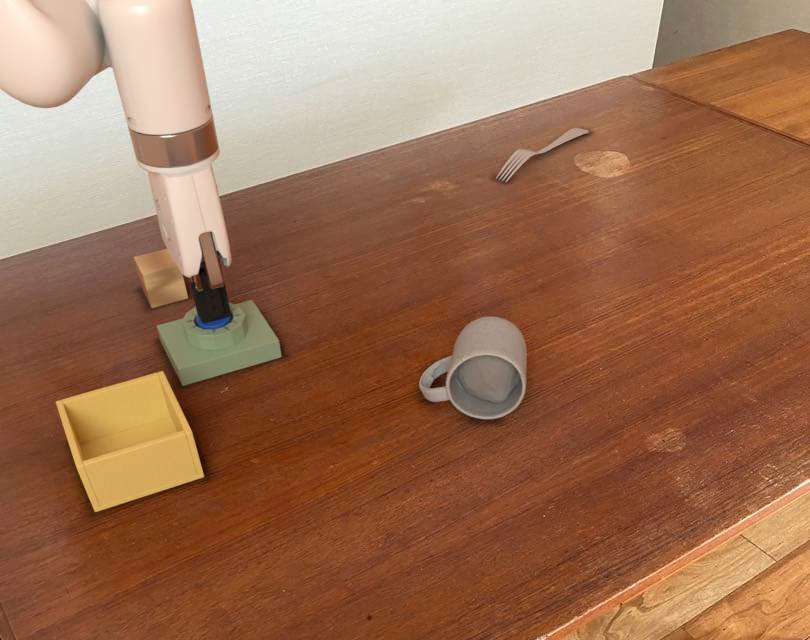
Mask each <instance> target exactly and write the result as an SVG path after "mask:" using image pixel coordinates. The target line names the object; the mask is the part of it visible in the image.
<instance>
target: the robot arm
mask: <svg viewBox="0 0 810 640" xmlns="http://www.w3.org/2000/svg"><path fill="white" fill-rule="evenodd" d="M204 66H205V65H204V62H203V56H202V50H201V45H200V40H199V35H198V30H197V24H196V19H195V14H194V9H193V4H192V0H0V90H1V91H3V92H4V93H5V94H7V96H9V97H11V98H13V99H15V100H17V101H18V102H20V103H22V104H24V105H27V106H31V107H33V108H39V109H51V108H58V107H60V106H63V105H65V104H67V103H69V102H70V101H71V100H72V99H74V98H75V97H76V96H77V95H78V94H79V93H80V92H81V90H83V89H84V87H85V86H86V85H87V84H88V83H89V82H90V80H92V79H93V78H94V77H95V76H97V75H98V74H100V73H101V72H103V71H105V70H107V69H109V68H111V69H112V72H113V75H114V80H115V84H116V88H117V91H118V95H119V98H120V102H121V105H122V109H123V113H124V116H125V121H126V123H127V128H128V132H129V136H130V140H131V144H132V148H133V152H134V155H135V160H136V164H137V165H138V167H140V168H141V169H142V170H145V171H146V172H147V175H148V180H149V184H150V185H149V186H150V189H151V195H152V199H153V204H154V208H155V213H156V216H157V221H158V227H159V232H160V235H161V238H162V241H163V243H164V247H166V248H165V249H168V251H169V253H170V255H171V256H172V258H173V260H174V262H175V263H176V265H177V267H178V268H179V270H180V271H181V273H182V274H183V277H186V278H188V279H190V281H191V282H190V283H189V285H190V289H191V293H192V297H193V302H194V307H196V310H197V314H198V316H199V318H200V319H201V321H202V323H204V324H205V323H209V322H213V321H216V320H220V319H224V318H227V317H230V316H231V311H230V306H229V302H230V300H229V297H228V292H227V288H226V283H225V280H224V273H223V269H222V264H223V266H224V267H225V268H226V269H229V267H230V266H231V265H232V262H233V261H232V259H233V258H232V251H231V246H230V241H229V235H228V231H227V225H226V220H225V217H224V211H223V207H222V203H221V198H220V194H219V189H218V188H219V186H218V184H217V181H216V177H215V172H214V170H213V169H214V168H213V165H212V163H213V162H215V161H216V160H217V159H218V157H220V153H221V150H220V146H219V141H218V140H219V139H218V135H217V130H216V124H215V120H214V119H215V118H214V113H213V109H212V104H211V98H210V94H209V93H210V92H209V88H208V83H207V78H206V71H205V67H204Z"/></svg>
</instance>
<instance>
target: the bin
mask: <svg viewBox="0 0 810 640" xmlns="http://www.w3.org/2000/svg"><path fill="white" fill-rule="evenodd" d="M55 405H56V409H57V411H58V414H59V418H60V421H61V424H62V426H63V430H64V433H65V436H66V439H67V442H68V446H69V449H70V452H71V456H72V458H73V461H74V465H75V468H76V470H77V472H78V473H77V474H78V475H79V478H80V480H81V482H82V485H83V487H84V489H85V492H86V494H87V497H88V499H89V502H90V505H91V506H92V508H93V511H94V513H97V512H100V511H103V510H107V509H110V508H112V507H116V506H120V505H122V504H126V503H128V502H131V501H134V500H138V499H141V498H144V497H147V496H150V495H153V494H156V493H159V492H162V491H166V490H168V489H173V488H174V487H177V486H181V485H184V484H187V483H191V482H194V481H196V480H199V479H203V478H205V474H204V471H203V466H202V463H201V459H200V456H199V455H200V454H199V452H198V448H197V443H196V440H195V437H194V432H193V430H192V429H191V427H190V425H189V422H188V420H187V418H186V416H185V414H184V412H183V409H182V408H181V405H180V404H179V401H178V399H177V396H176V395H175V393H174V391H173V389H172V386H171V384H170V382H169V380H168V377H167V375H166V373H165V372H164V371H163V370H161V371H158V372H153V373H150V374H147V375H143V376H139V377H136V378H132V379H129V380H126V381H122V382H119V383H115V384H111V385H108V386H104V387H101V388H97V389H93V390H90V391H87V392H84V393H81V394H80V393H79V394H76V395H73V396H70V397H65V398H63V399H60V400H56V401H55Z"/></svg>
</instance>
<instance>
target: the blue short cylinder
mask: <svg viewBox="0 0 810 640" xmlns="http://www.w3.org/2000/svg"><path fill="white" fill-rule="evenodd" d="M196 321H197V325H198V327H199V328H202V329H212V330H214V329H218V328H221V327H225V326H226V325H227V324H229V323H230V322H232V320H231V316H230V317H227V318H224V319H220V320H216V321H213V322H209V323H205V324H204V323H202V321H201V319H200V318H199V316H198V315H197V318H196Z"/></svg>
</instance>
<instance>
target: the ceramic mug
mask: <svg viewBox="0 0 810 640" xmlns="http://www.w3.org/2000/svg"><path fill="white" fill-rule="evenodd" d="M452 350H453V352H452V354H451V355H449V356H447V357H444V358H442V359H439V360H437V361H435V362H433V364H431V365H430V366H428V368H427V369H426V370H424V371H423V373H422V375H421V376H420V378H419V381H418V388H419V390H420V392H421V394H422V395H423V397H424V399H426V400H427V401H428V402H432V403H441V402H447V401H450V402H451V404H452V406H454V407H455V408H456V409H457V411H459V412H460V413H463V415H466V416H468V417H471V418H474V419H478V420H479V419H480V420H495V419H496V420H497V419H500V418H503V417H505V416H507V415H509V414H511V413H512V412H513V411H515V410H516V409H517V408H518V407H519V406H520V404H521V403H522V401H523V400H524V398H525V395H526V391H527V368H528V367H527V361H528V360H527V359H528V351H527V350H528V349H527V344H526V340H525V337H524V334H523V333H522V331H521V330H520V329H519V327H518V326H517V325H516V324H515V323H513V322H512V321H510V320H508V319H507V318H504V317H500V316H496V315H485V316H480V317H477V318H476V319H474V320H471V321H470V322H468V324H467V325H465V326H464V328H462V330H461V331H460V333H459V334H458V336H457V338H456V340H455V343H454V346H453V349H452ZM444 374H446V377H445V385H444V386H441V387H432V384H433V383H434V382H435V380H436V379H438V378H439V377H440V376H442V375H444ZM431 387H432V388H431Z"/></svg>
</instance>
